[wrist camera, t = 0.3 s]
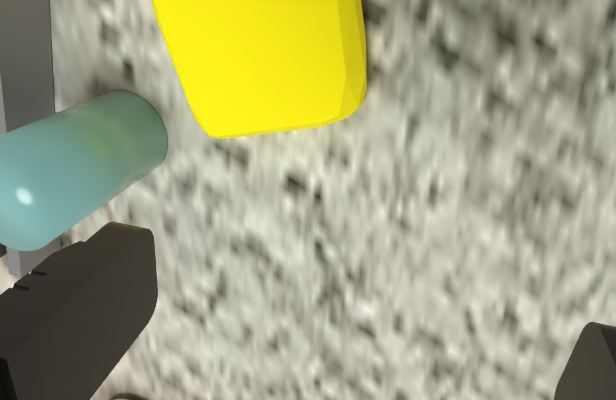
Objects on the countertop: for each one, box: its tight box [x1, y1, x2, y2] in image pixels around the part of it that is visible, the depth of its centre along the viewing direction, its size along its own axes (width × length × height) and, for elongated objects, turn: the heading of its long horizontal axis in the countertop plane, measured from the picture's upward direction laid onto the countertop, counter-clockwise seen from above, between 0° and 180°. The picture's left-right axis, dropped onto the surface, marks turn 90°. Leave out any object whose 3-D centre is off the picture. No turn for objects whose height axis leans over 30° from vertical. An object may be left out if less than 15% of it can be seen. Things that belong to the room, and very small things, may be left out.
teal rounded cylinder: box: [0, 90, 168, 251], centre depth 28 cm, size 6×6×10 cm
